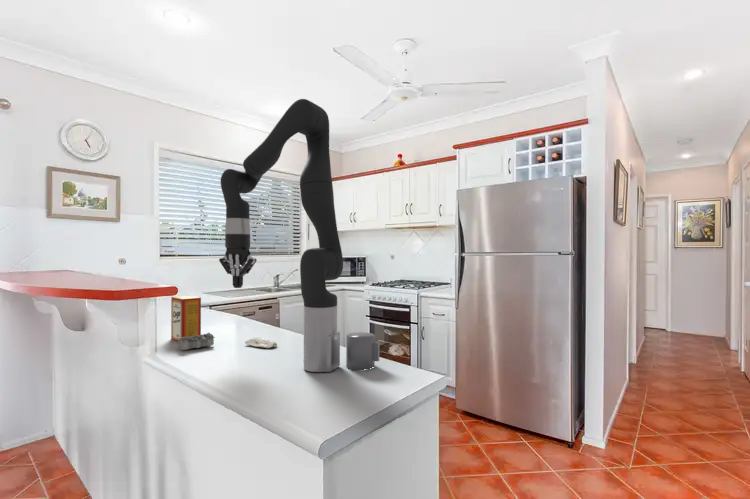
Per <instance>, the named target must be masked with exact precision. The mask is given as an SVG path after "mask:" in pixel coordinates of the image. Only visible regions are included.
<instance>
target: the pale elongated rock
mask: <svg viewBox="0 0 750 499" xmlns="http://www.w3.org/2000/svg"><path fill="white" fill-rule="evenodd" d="M244 344H246V345H248V346H252V347H258V348H264V349H271V348H273V347H275V346H276V347H278V344H277V342H275V341H274V340H271V339H266V338H262V337H252V338H249V339H247V340H246V341H245V342H244Z"/></svg>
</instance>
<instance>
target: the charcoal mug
mask: <svg viewBox="0 0 750 499" xmlns="http://www.w3.org/2000/svg"><path fill="white" fill-rule="evenodd" d="M345 337H346V339H345V340H346V341H345V344H346V347H345V348H346V351H345V354H346V355H345V357H346V358H345V360H346V362H345V363H346V366H345V367H347V368H349V369H353V370H364V369H370V368H372V367H374V366H375V365H376V362H379V361H380V342H378V341H375V340H376V339H375V338H376V336H375V334H374V333H371V332H364V331H363V332H362V331H361V332H358V331H357V332H351V333H347V334H346V336H345ZM375 367H376V366H375ZM375 367H374V368H375ZM347 368H346V369H347ZM349 369H348V370H349ZM353 370H352V371H353Z"/></svg>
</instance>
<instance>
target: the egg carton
mask: <svg viewBox="0 0 750 499" xmlns="http://www.w3.org/2000/svg"><path fill="white" fill-rule="evenodd" d="M215 338H216V337H215V336H214V335H213V334H212V333H210V332H206V333H203V334H201V335H196V336H191V337H181V338H179V339H178V342H177V343H178V349H180V351H183V350H185V351H186V350H191V349H195V348H196V349H199V348H203V347H211V346H214V344H215V343H214V341H215V340H214V339H215Z"/></svg>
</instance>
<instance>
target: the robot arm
mask: <svg viewBox="0 0 750 499" xmlns="http://www.w3.org/2000/svg"><path fill="white" fill-rule="evenodd" d="M298 133H299V134H301V135H304V137H305V140H306V145H307V146H306V147H307V157H306V158H307V159H306V161H305V164H304V166H303V168H302V172H301V175H300V178H299V190H300V201H301V204H302V208H303V210H304V211H305V213H306V215H307V217H308V218H309V220H310V222H311V223H312V225H313V226H314V229H315V231H316V235H317V240H318V247H311V248H307V249H306V250H305V251H304V252H303V253H302V255H301V259H300V265H299V266H300V267H299V271H300V274H299V275H300V276H299V277H300V292H301V296H302V300H303V370H305V371H308V372H314V373H323V372H326V373H327V372H328V373H329V372H330V373H331V372H333V371H334V370H336V369H338V367H340V366H341V332H340V331H338V296H337V295H336V294H335V293H332V292H330V291H329V290H328V289H327V285H326V284H327V283H326V281H327V282H328V281H334V280H337V279H339V278H340V276H341V275H342V273H343V270H344V258H343V252H342V246H341V243H340V237H339V231H338V226H337V218H336V210H335V209H336V208H335V199H334V198H335V196H334V187H333V179H332V170H331V169H332V168H331V156H330V119H329V115H328V113H327V112H326V111H325V109H324V108H322V107H321V106H319V104H316V103H314V102H313V101H311V100H308V99H305V98H299V99H297V100H295V101H294V102H293V103H291V105H290V106H289V107H288V108H287V110H286V111H285V112H284V113H283V114H282V117H281V118H280V119H279V120H278V122H277V123H276V124H275V125H274V127H273V128H272V130H271V131H270V132H269V134H268V135H267V136H266V138H264V140H263V141H262V142H261V143H260V144H259V145H258V146H257V147H256V148H255V149H254V150H253V151H252V152H250V154H249V155H248V156H247V157H246V158H244V159H243V163H242V167H243V168H244V171H243V170H239V169H236V168H235V169H234V168H227V169H225V170H224V171H223V172H222V174H221V176H220V187H221V192H222V196H223V199H224V203H225V208H226V209H225V217H226V219H225V223H224V224H225V226H224V231H225V233H224V234H225V236H224V240H225V241H224V242H225V243H224V246H225V249H226V251H225V254H224V256H222V257H220V258H219V260H218V261H219V263H220V264H221V266H222V267H223V269H224V270H225V272H226V274H227V275H231V276H232V286H233V289H238V288H239V289H241V288H242V286H244V285H243V284H244V276H245V275H248V274H249V273H250V272H251V270H252V269H253V267H254V266H255V264H256V263H257V258H256V257H253V256H251V250H250V248H251V224H250V221H251V220H250V203H249V202H248V201H247V200H245V199H243V198H242V196H241V194H243V195H244V194H249V193H252V191H253V190H255V189H256V187H257V185H258V183H259V182H260V180H261V178H262V177H263V176H264V175H265V174H266V173H267V172H268V171H269V170H271V168H272V167H274V166H275V165H276V164H277V163H278V161H279V159H280V157H281V155H282V151H283V148H284V147H285V145H286V143H287V141H288V140H290V139H291V138H292V137H294V136H295V135H296V134H298Z"/></svg>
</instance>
